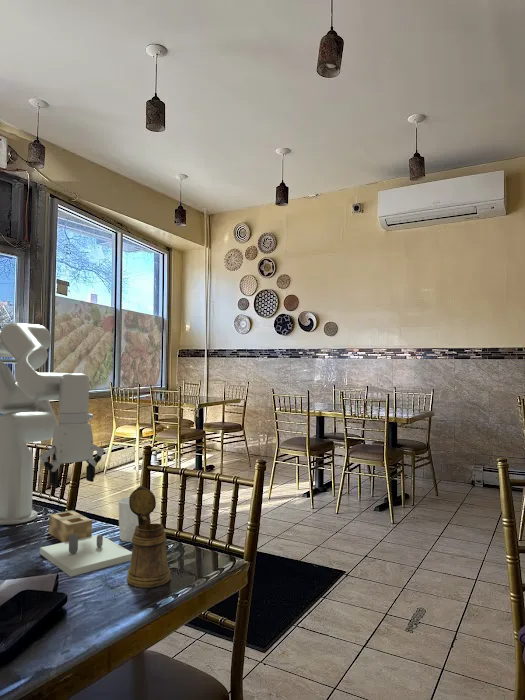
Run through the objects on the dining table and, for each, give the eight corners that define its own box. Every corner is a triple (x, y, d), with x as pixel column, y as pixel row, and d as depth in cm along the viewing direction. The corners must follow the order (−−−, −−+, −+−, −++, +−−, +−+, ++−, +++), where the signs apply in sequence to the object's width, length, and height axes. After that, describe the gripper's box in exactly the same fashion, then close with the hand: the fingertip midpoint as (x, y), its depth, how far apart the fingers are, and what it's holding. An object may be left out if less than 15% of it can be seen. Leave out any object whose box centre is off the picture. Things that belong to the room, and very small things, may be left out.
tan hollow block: (48, 533, 136) (49, 514, 137) (72, 528, 141) (72, 510, 141) (67, 545, 127) (67, 525, 128) (91, 539, 132) (92, 520, 132)
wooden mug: (157, 561, 117) (159, 483, 118) (175, 583, 105) (177, 496, 106) (119, 567, 113) (121, 487, 114) (132, 591, 101) (135, 501, 102)
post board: (40, 553, 121) (41, 528, 121) (99, 540, 131) (99, 517, 132) (70, 576, 108) (71, 548, 108) (133, 559, 118) (134, 533, 119)
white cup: (130, 545, 128) (131, 505, 129) (111, 538, 133) (112, 500, 133) (154, 537, 134) (155, 499, 135) (135, 531, 139) (136, 494, 140)
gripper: (98, 416, 144) (97, 477, 143) (35, 420, 132) (34, 486, 131) (110, 418, 139) (109, 481, 138) (46, 422, 127) (44, 491, 126)
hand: (72, 483), depth 134 cm, fingers open, 9 cm apart
